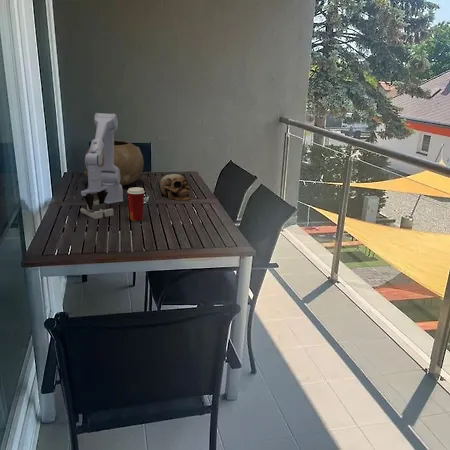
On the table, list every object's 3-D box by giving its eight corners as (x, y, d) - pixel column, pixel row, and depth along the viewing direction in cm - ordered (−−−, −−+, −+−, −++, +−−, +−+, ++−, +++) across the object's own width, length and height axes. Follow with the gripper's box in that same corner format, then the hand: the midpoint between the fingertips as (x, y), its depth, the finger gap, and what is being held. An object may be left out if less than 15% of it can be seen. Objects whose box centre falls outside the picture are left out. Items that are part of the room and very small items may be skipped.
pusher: (105, 212, 210) (104, 203, 209) (113, 216, 205) (113, 206, 204) (92, 215, 206) (92, 205, 204) (100, 219, 201) (100, 209, 199)
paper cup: (148, 218, 206) (147, 188, 202) (139, 222, 199) (139, 191, 195) (133, 215, 208) (132, 186, 204) (124, 220, 202) (123, 189, 197)
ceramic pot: (117, 175, 289) (116, 136, 281) (155, 184, 270) (155, 142, 263) (74, 183, 263) (71, 140, 255) (112, 194, 244) (110, 147, 237)
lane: (98, 208, 217) (98, 202, 216) (113, 215, 208) (113, 209, 207) (80, 211, 211) (80, 205, 210) (94, 219, 201) (94, 212, 200)
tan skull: (190, 201, 237) (188, 175, 233) (157, 202, 238) (155, 177, 234) (193, 194, 252) (191, 171, 248) (163, 196, 253) (161, 172, 249)
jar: (97, 210, 214) (96, 195, 212) (101, 213, 210) (100, 198, 208) (85, 211, 211) (84, 196, 209) (89, 214, 207) (89, 199, 205)
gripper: (100, 175, 212) (102, 203, 217) (75, 180, 201) (77, 209, 205) (111, 177, 209) (112, 206, 213) (86, 182, 197) (88, 212, 201)
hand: (96, 208), depth 209 cm, fingers open, 6 cm apart
